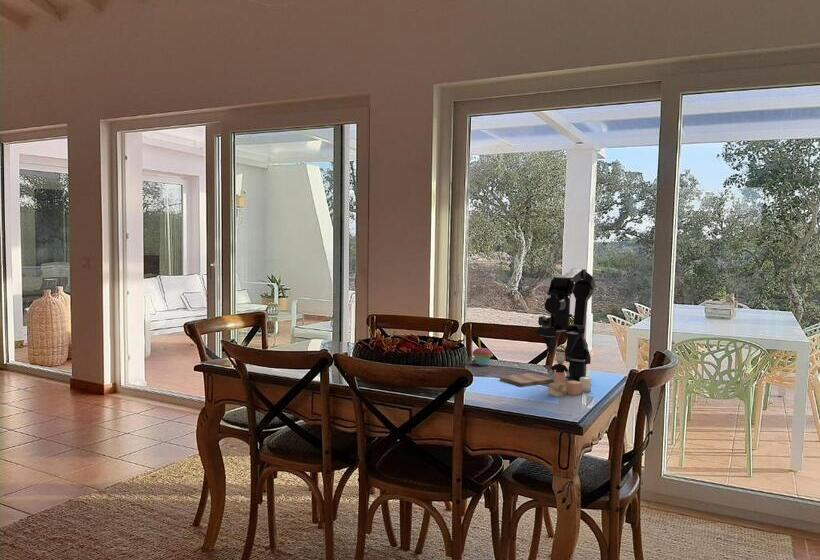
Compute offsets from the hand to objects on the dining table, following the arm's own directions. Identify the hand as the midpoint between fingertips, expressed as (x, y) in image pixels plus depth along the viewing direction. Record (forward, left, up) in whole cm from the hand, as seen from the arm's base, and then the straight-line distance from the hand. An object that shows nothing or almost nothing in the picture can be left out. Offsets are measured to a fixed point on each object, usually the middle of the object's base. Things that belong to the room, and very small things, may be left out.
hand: (559, 353), depth 236 cm
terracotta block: (0, +7, -13) cm, 15 cm away
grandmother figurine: (0, 0, -13) cm, 13 cm away
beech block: (+7, +6, -13) cm, 16 cm away
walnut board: (+2, -15, -13) cm, 20 cm away
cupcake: (-3, -48, -13) cm, 50 cm away
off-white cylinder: (-7, +6, -13) cm, 16 cm away
